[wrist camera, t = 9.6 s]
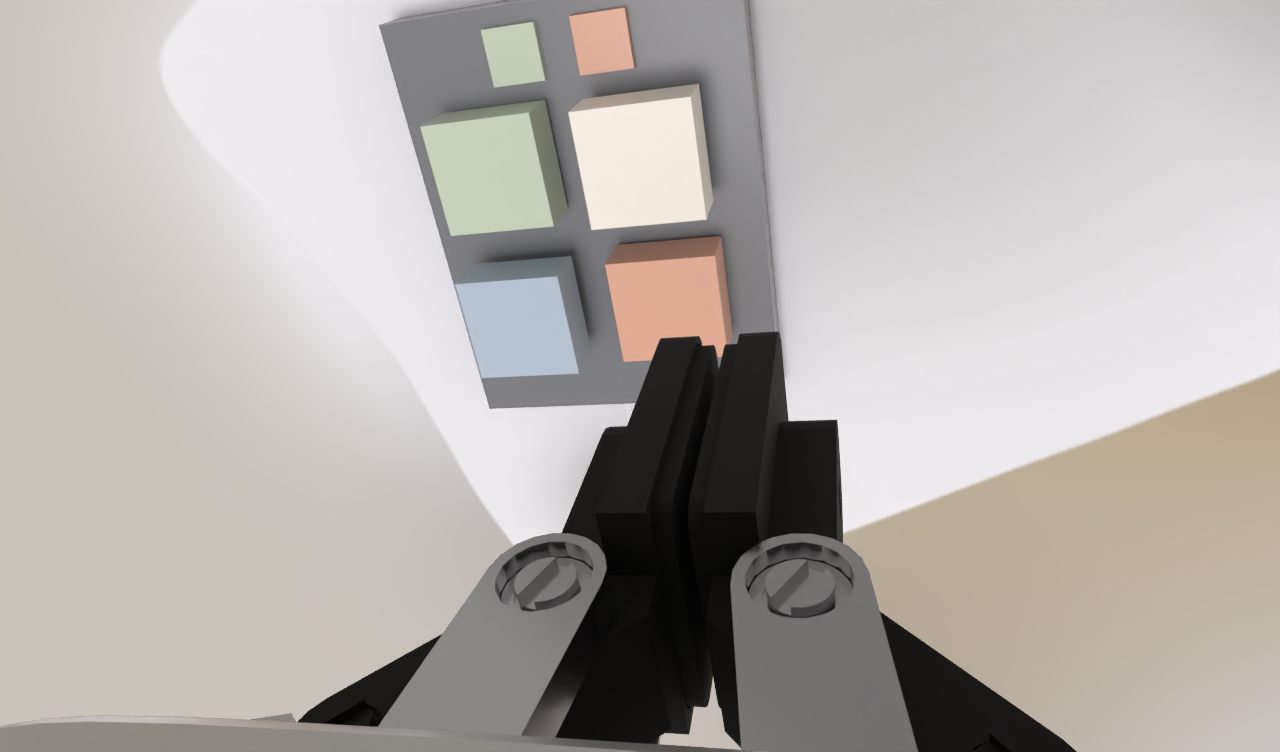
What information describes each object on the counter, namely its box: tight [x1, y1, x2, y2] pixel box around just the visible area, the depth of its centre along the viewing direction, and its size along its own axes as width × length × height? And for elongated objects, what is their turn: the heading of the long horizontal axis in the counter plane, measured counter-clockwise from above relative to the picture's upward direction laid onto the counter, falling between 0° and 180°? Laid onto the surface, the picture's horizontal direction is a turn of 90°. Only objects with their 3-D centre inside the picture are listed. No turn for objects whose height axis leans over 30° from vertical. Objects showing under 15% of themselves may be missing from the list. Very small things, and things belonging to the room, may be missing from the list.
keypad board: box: [379, 0, 779, 409], centre depth 41 cm, size 16×20×2 cm
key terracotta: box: [605, 236, 733, 362], centre depth 40 cm, size 5×5×2 cm
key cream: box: [568, 84, 713, 230], centre depth 36 cm, size 5×5×2 cm
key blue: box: [455, 256, 591, 378], centre depth 41 cm, size 5×5×2 cm
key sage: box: [420, 100, 568, 236], centre depth 38 cm, size 5×5×2 cm
